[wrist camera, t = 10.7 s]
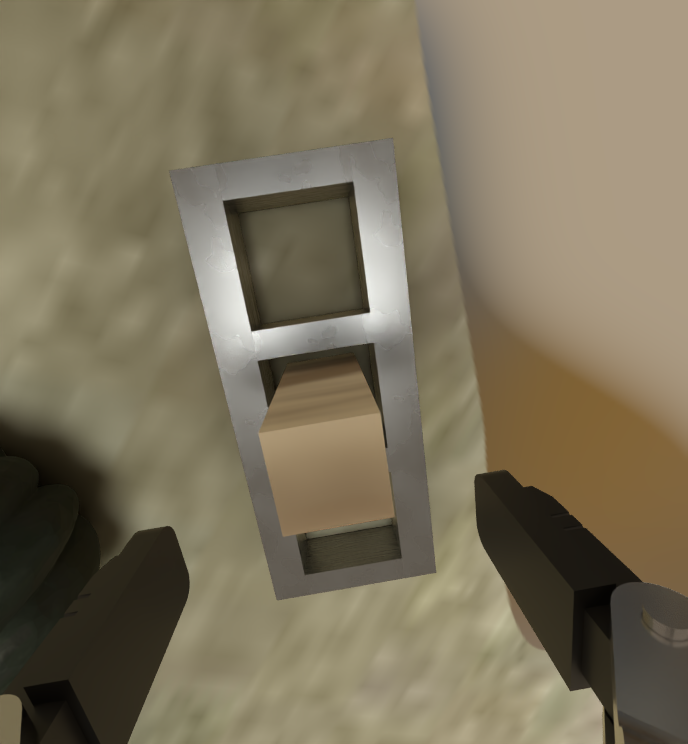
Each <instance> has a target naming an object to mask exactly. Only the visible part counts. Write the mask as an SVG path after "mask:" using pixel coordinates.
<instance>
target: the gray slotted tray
mask: <svg viewBox="0 0 688 744" xmlns="http://www.w3.org/2000/svg"><path fill="white" fill-rule="evenodd" d="M169 173H170V177H171V181H172V185H173V188H174V192H175V196H176V200H177V204H178V208H179V212H180V216H181V220H182V224H183V228H184V232H185V236H186V240H187V244H188V248H189V252H190V256H191V260H192V264H193V268H194V272H195V276H196V280H197V284H198V288H199V292H200V296H201V300H202V304H203V308H204V312H205V316H206V320H207V324H208V328H209V332H210V336H211V340H212V344H213V348H214V352H215V356H216V360H217V364H218V368H219V372H220V376H221V380H222V384H223V388H224V392H225V396H226V400H227V404H228V408H229V412H230V416H231V420H232V424H233V428H234V432H235V435H236V439H237V443H238V447H239V451H240V455H241V459H242V463H243V467H244V471H245V475H246V479H247V483H248V487H249V491H250V495H251V499H252V503H253V507H254V511H255V515H256V519H257V523H258V527H259V531H260V535H261V539H262V543H263V547H264V551H265V555H266V559H267V563H268V567H269V571H270V575H271V579H272V583H273V587H274V591H275V595H276V599H277V600H282V599H288V598H294V597H299V596H305V595H311V594H316V593H322V592H328V591H334V590H339V589H345V588H351V587H357V586H362V585H368V584H374V583H379V582H385V581H391V580H397V579H402V578H408V577H414V576H420V575H425V574H431V573H436V566H435V556H434V546H433V536H432V526H431V516H430V506H429V496H428V486H427V475H426V465H425V455H424V445H423V435H422V425H421V415H420V405H419V395H418V385H417V375H416V365H415V355H414V345H413V335H412V325H411V315H410V305H409V294H408V284H407V274H406V264H405V254H404V244H403V234H402V224H401V214H400V204H399V194H398V184H397V174H396V164H395V154H394V144H393V138H389V139H382V140H375V141H368V142H361V143H354V144H348V145H341V146H334V147H327V148H320V149H314V150H307V151H300V152H293V153H286V154H280V155H273V156H266V157H259V158H252V159H245V160H239V161H232V162H225V163H218V164H211V165H205V166H198V167H191V168H184V169H177V170H170V171H169ZM344 197H349V204H350V211H351V219H352V226H353V234H354V241H355V249H356V256H357V264H358V271H359V279H360V286H361V294H362V301H363V309H356V310H350V311H344V312H337V313H331V314H325V315H318V316H312V317H306V318H299V319H293V320H286V321H280V322H274V323H267V324H261V321H260V316H259V311H258V306H257V302H256V297H255V292H254V288H253V283H252V278H251V273H250V269H249V264H248V259H247V254H246V250H245V245H244V240H243V235H242V231H241V226H240V221H239V216H238V213H244V212H250V211H257V210H264V209H270V208H277V207H284V206H290V205H297V204H304V203H310V202H317V201H324V200H330V199H337V198H344ZM366 343H368V346H369V354H370V361H371V369H372V376H373V384H374V391H375V399H376V404H377V406H378V408H379V411H380V413H381V421H382V428H383V435H384V442H385V450H386V457H387V464H388V471H389V479H390V486H391V493H392V500H393V507H394V515H395V517H392V525H391V526H385V527H379V528H373V529H367V530H361V531H356V532H350V533H344V534H338V535H332V536H326V537H321V538H315V539H309V540H307V539H306V534H305V533H302V534H296V535H290V536H285V537H283V535H282V531H281V526H280V522H279V518H278V514H277V510H276V505H275V501H274V497H273V493H272V489H271V485H270V480H269V476H268V472H267V468H266V464H265V460H264V455H263V451H262V447H261V443H260V439H259V434H258V433H259V430H260V428H261V426H262V423H263V421H264V418H265V416H266V414H267V411H268V409H269V407H270V404H271V402H272V399H273V397H274V395H275V387H274V382H273V378H272V373H271V368H270V363H269V359H272V358H278V357H284V356H291V355H297V354H303V353H309V352H316V351H322V350H328V349H335V348H341V347H347V346H353V345H360V344H366Z"/></svg>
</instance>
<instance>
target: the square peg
mask: <svg viewBox="0 0 688 744" xmlns="http://www.w3.org/2000/svg"><path fill="white" fill-rule="evenodd" d="M258 434H259V439H260V443H261V447H262V451H263V455H264V460H265V464H266V468H267V472H268V476H269V480H270V485H271V489H272V493H273V497H274V501H275V505H276V510H277V514H278V518H279V522H280V526H281V531H282V535H283V537H285V536H290V535H296V534H302V533H307V532H313V531H319V530H324V529H330V528H336V527H341V526H347V525H353V524H358V523H364V522H370V521H375V520H381V519H387V518H392V517H395V515H394V507H393V500H392V493H391V486H390V479H389V471H388V464H387V457H386V450H385V442H384V435H383V428H382V421H381V413H380V411H379V408H378V406H377V404H376V402H375V399H374V397H373V395H372V393H371V391H370V388H369V386H368V384H367V382H366V379H365V377H364V375H363V373H362V370H361V368H360V366H359V364H358V362H357V359H356V357H355V355H354V353H347V354H341V355H335V356H329V357H323V358H317V359H311V360H305V361H299V362H293V363H288V364H287V366H286V368H285V371H284V373H283V376H282V378H281V380H280V383H279V385H278V387H277V390H276V392H275V395H274V397H273V399H272V402H271V404H270V407H269V409H268V411H267V414H266V416H265V418H264V421H263V423H262V426H261V428H260V430H259V433H258Z"/></svg>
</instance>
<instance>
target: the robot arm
mask: <svg viewBox="0 0 688 744" xmlns="http://www.w3.org/2000/svg"><path fill="white" fill-rule="evenodd" d="M474 484H475V502H476V520H477V529H478V533H479V536H480V540H481V542H482V545H483V547H484V549H485V551H486V552H487V554H488V556H489V557H490V559H491V561H492V562H493V564H494V566H495V567H496V569H497V571H498V572H499V574H500V575H501V577H502V579H503V580H504V582H505V584H506V585H507V587H508V589H509V590H510V592H511V594H512V595H513V597H514V598H515V600H516V602H517V604H518V605H519V607H520V608H521V610H522V612H523V614H524V615H525V617H526V618H527V620H528V622H529V624H530V625H531V627H532V628H533V630H534V632H535V633H536V635H537V637H538V638H539V640H540V642H541V643H542V645H543V647H544V648H545V650H546V652H547V653H548V655H549V657H550V658H551V660H552V662H553V663H554V665H555V667H556V668H557V670H558V672H559V673H560V675H561V676H562V678H563V680H564V681H565V683H566V685H567V686H568V688H569V690H570V691H574V690H580V689H585V688H590V687H591V688H592V689H593V691H594V693H595V694H596V696H597V697H598V699H599V700H600V702H601V703H602V705H603V713H602V721H603V744H688V597H686V596H684V595H682V594H680V593H678V592H676V591H673V590H671V589H669V588H666V587H662V586H660V585H655V584H651V583H644V582H642V581H641V580H640V579H639V578H638V577H637V576H636V575H635V574H634V573H633V572H632V571H631V570H630V569H629V568H627V566H625V565H624V564H623V563H622V562H621V561H620V560H619V559H618V558H617V557H616V556H615V555H614V554H613V553H611V552H610V551H609V550H608V549H607V548H606V547H605V546H604V545H603V544H602V543H601V542H600V541H599V540H598V539H597V538H596V537H595V536H594V535H593V534H592V533H590V532H589V531H588V530H587V529H586V528H583V526H582V524H581V523H580V522H579V521H578V520H577V519H576V518H575V517H574V516H572V515H569V512H568V511H567V510H566V509H565V508H564V507H563V506H562V505H561V504H560V503H558V501H557V500H556V499H554V498H553V497H552V496H550V495H548V494H546V493H544V492H542V491H541V490H539V489H537V488H535V487H533V486H529V487H523V486H522V485H521V484H520V483H519V482H518V481H517V480H516V479H515V478H514V477H513V476H512V475H511V474H510V473H509V472H508V471H506V470H500V471H495V472H489V473H483V474H477V475H476V476H475V480H474ZM189 585H190V582H189V573H188V570H187V567H186V564H185V561H184V558H183V555H182V552H181V549H180V546H179V543H178V540H177V537H176V534H175V531H174V530H173V528H172V527H170V526H166V527H160V528H154V529H148V530H142V531H138V532H136V533H135V534H134V535H133V537H132V538H131V539H130V541H129V542H128V543H127V545H126V546H125V548H124V549H123V550H122V552H121V553H120V554H119V556H115V557H114V558H113V559H111V560H110V561H109V562H108V563H107V564H106V565H105V566H103V567H102V568H101V569H100V570H99V571H98V572H96V573H95V574H94V575H93V576H92V578H91V579H90V580H89V582H88V583H87V584H86V585H85V587H84V588H83V589H82V591H81V592H80V593H79V595H78V599H77V600H74V601H73V603H72V604H71V605H70V606H69V608H68V609H67V610H66V612H65V613H64V617H63V618H60V620H59V621H58V622H57V623H56V625H55V626H54V627H53V629H52V630H51V631H50V633H49V634H48V635H47V637H46V638H45V639H44V640H43V642H42V643H41V644H40V646H39V647H38V648H37V650H36V651H35V652H34V654H33V655H32V656H31V657H30V659H29V660H28V661H27V663H26V664H25V665H24V667H23V668H22V669H21V671H20V672H19V673H18V674H17V676H16V677H15V678H14V680H13V681H12V682H11V684H10V685H9V686H8V688H7V689H6V690H5V691H4V693H3V694H2V695H0V744H127V743H128V741H129V739H130V736H131V734H132V731H133V729H134V726H135V724H136V722H137V719H138V717H139V714H140V712H141V710H142V707H143V705H144V702H145V700H146V698H147V695H148V693H149V690H150V688H151V686H152V683H153V681H154V678H155V676H156V673H157V671H158V669H159V666H160V664H161V661H162V659H163V657H164V654H165V652H166V649H167V647H168V645H169V642H170V640H171V637H172V635H173V633H174V630H175V628H176V625H177V623H178V620H179V618H180V616H181V613H182V611H183V608H184V606H185V604H186V601H187V598H188V594H189Z"/></svg>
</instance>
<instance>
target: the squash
mask: <svg viewBox="0 0 688 744" xmlns="http://www.w3.org/2000/svg"><path fill="white" fill-rule="evenodd" d="M38 482H39V473H38V471H37V470H36V468H35V467H34V466H33V465H32V464H31V463H30V462H29V461H27V460H25V459H23V458H19V457H15V456H6V455H5V453H4V451H3V450H2V449H1V447H0V695H2V694H3V693H4V691H5V690H6V689H7V688H8V686H9V685H10V684H11V682H12V681H13V680H14V678H15V677H16V676H17V674H18V673H19V672H20V671H21V669H22V668H23V667H24V665H25V664H26V663H27V661H28V660H29V659H30V657H31V656H32V655H33V654H34V652H35V651H36V650H37V648H38V647H39V646H40V644H41V643H42V642H43V640H44V639H45V638H46V637H47V635H48V634H49V633H50V631H51V630H52V629H53V627H54V626H55V625H56V623H57V622H58V621H59V620H60V618H63V617H64V613H65V612H66V610H67V609H68V608H69V606H70V605H71V604H72V603H73V601H74V600H77V599H78V595H79V593H80V592H81V591H82V589H83V588H84V587H85V585H86V584H87V583H88V582H89V580H90V579H91V578H92V576H93V575H94V574H95V573H96V572H98V571H99V564H100V546H99V541H98V537H97V534H96V532H95V530H94V528H93V527H92V525H91V524H90V523H89V522H88V520H86V519H85V518H84V517H82V516H81V515H79V514H78V511H79V506H80V505H79V499H78V497H77V494H76V492H75V491H74V490H73V489H72V488H70V487H68V486H66V485H61V484H53V485H46V486H41V487H39V488H37V486H38Z"/></svg>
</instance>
